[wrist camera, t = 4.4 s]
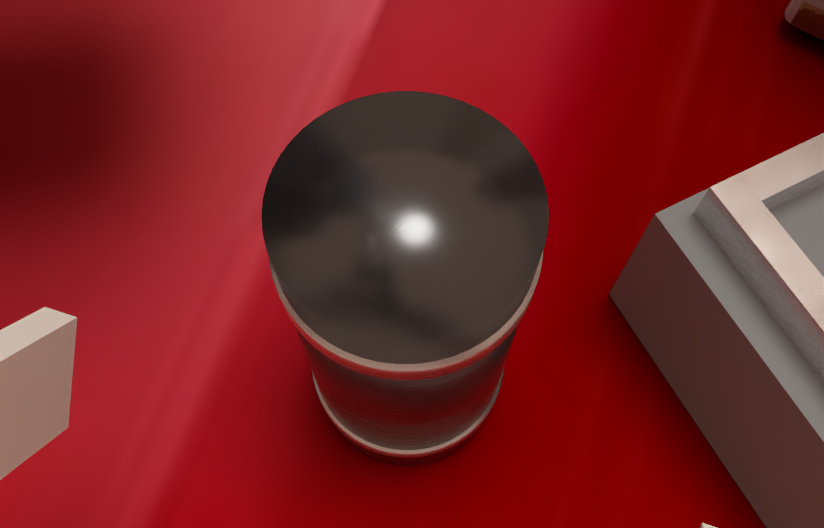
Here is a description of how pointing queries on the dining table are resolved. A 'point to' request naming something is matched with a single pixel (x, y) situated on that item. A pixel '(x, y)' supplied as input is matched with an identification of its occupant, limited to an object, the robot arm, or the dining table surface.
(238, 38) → the dining table surface
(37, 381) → the robot arm
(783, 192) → the square picture frame
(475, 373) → the lens
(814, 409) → the square shallow tray
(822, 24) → the cine camera
